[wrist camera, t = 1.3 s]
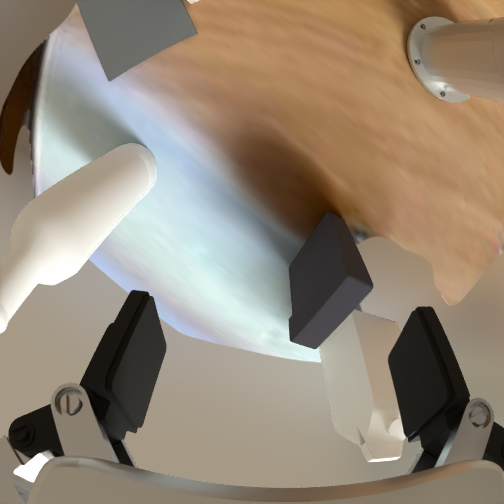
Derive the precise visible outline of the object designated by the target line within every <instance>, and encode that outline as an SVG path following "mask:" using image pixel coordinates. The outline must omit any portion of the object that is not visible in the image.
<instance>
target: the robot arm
mask: <svg viewBox="0 0 504 504" xmlns="http://www.w3.org/2000/svg"><path fill="white" fill-rule="evenodd" d="M420 26H421V27H420ZM407 51H408V58H409V61H410V65H411V67H412V70H413V72H414V74H415V76H416V77H417V79H418V81H419V82H420V83H421V84H422V86H423V87H424V88H425V89H426V90H427V91H428V92H429V93H431V94H432V95H434V96H435V97H437V98H439V99H441V100H443V101H448V102H454V103H458V102H463V101H466V100H468V99H469V98H471V97H472V96H477V97H481V98H485V99H490V100H494V101H498V102H501V103H504V17H500V18H489V19H480V20H472V21H465V22H459V23H454V22H452V21H451V20H449V19H446V18H443V17H437V16H433V17H427V18H424V19H421V20H420V21H418V22H417V23H416V24H415V25H414V26H413V27H412V29H411V31H410V33H409V36H408V41H407ZM415 61H416V63H415ZM440 93H441V94H440ZM165 353H166V341H165V338H164V335H163V331H162V328H161V324H160V320H159V317H158V313H157V309H156V305H155V301H154V298H153V296H150V295H149V293H148V292H145V291H137V290H132V291H131V292H130V294H129V295H128V297H127V299H126V301H125V303H124V305H123V306H122V308H121V310H120V312H119V314H118V316H117V318H116V320H115V321H114V323H111V324H110V325H109V326H108V328H107V329H106V331H105V333H104V335H103V337H102V339H101V341H100V343H99V345H98V347H97V349H96V351H95V353H94V355H93V357H92V359H91V361H90V363H89V365H88V367H87V369H86V372H85V374H84V376H83V378H82V380H81V382H80V384H79V385H78V384H76V383H67V384H63V385H61V386H60V387H58V388H57V389H56V390H55V392H54V393H53V395H52V398H51V404H49V405H47V406H45V407H42V408H40V409H38V410H35V411H33V412H31V413H28V414H26V415H23V416H21V417H19V418H17V419H15V420H14V421H13V422H12V424H11V426H10V428H9V436H8V437H6V436H3V437H2V438H1V439H0V504H504V428H503V427H502V426H500V425H499V424H497V423H495V422H494V413H493V409H492V407H491V406H490V404H489V403H488V402H487V401H486V400H484V399H481V398H475V399H472V400H471V401H470V399H469V397H470V394H469V391H468V388H467V386H466V383H465V380H464V377H463V375H462V372H461V370H460V367H459V364H458V362H457V360H456V357H455V355H454V352H453V350H452V348H451V345H450V343H449V341H448V339H447V336H446V334H445V332H444V330H443V327H442V325H441V323H440V321H439V319H438V317H437V315H436V313H435V311H434V309H433V308H432V307H417V308H416V310H415V311H413V312H412V313H411V315H410V317H409V319H408V321H407V323H406V325H405V326H404V328H403V330H402V332H401V334H400V336H399V338H398V339H397V341H396V343H395V345H394V347H393V348H392V350H391V352H390V354H389V356H388V365H389V369H390V373H391V377H392V381H393V385H394V389H395V393H396V398H397V402H398V407H399V411H400V416H401V421H402V426H403V432H404V435H405V436H406V437H408V442H415V441H419V440H420V441H421V448H420V450H419V452H418V454H417V455H416V457H415V459H414V461H413V463H412V464H411V466H410V468H409V469H408V471H407V473H406V474H405V475H402V476H398V477H393V478H388V479H383V480H377V481H371V482H364V483H357V484H349V485H339V486H328V487H311V488H260V487H245V486H233V485H224V484H215V483H208V482H201V481H195V480H189V479H184V478H179V477H174V476H169V475H164V474H160V473H155V472H151V471H147V470H143V469H139V468H138V467H137V465H136V463H135V461H134V459H133V457H132V455H131V454H130V451H129V449H128V447H127V445H126V443H125V441H124V438H125V435H126V432H127V431H130V432H133V433H136V432H137V428H138V427H139V428H141V427H142V425H143V423H144V420H145V416H146V413H147V410H148V406H149V403H150V400H151V396H152V393H153V390H154V387H155V384H156V381H157V377H158V374H159V371H160V368H161V365H162V362H163V359H164V356H165Z"/></svg>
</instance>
